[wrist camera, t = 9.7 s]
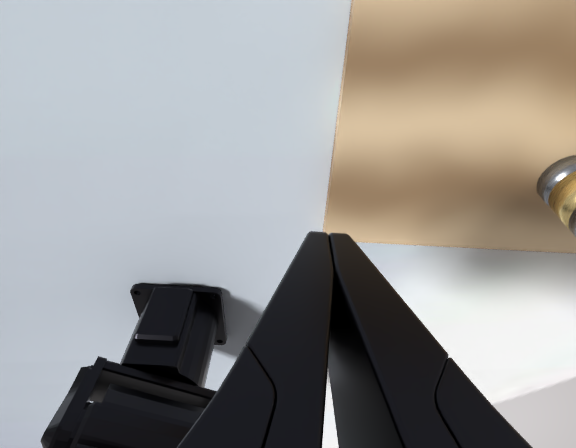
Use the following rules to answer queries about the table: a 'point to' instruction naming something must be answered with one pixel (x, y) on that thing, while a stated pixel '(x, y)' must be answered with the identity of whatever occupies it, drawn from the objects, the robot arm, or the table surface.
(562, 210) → the olive tan bar
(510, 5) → the oak board
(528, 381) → the table surface
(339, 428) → the robot arm
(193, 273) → the table surface
